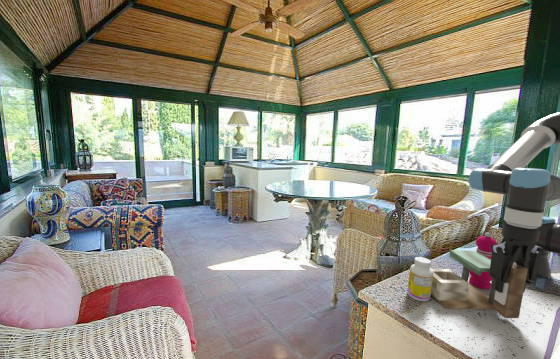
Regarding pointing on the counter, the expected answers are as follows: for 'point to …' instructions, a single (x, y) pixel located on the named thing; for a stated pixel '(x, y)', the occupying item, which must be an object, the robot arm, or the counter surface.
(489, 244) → the pepper mill
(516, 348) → the counter surface
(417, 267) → the supplement bottle
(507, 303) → the walnut peg
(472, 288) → the awning station
